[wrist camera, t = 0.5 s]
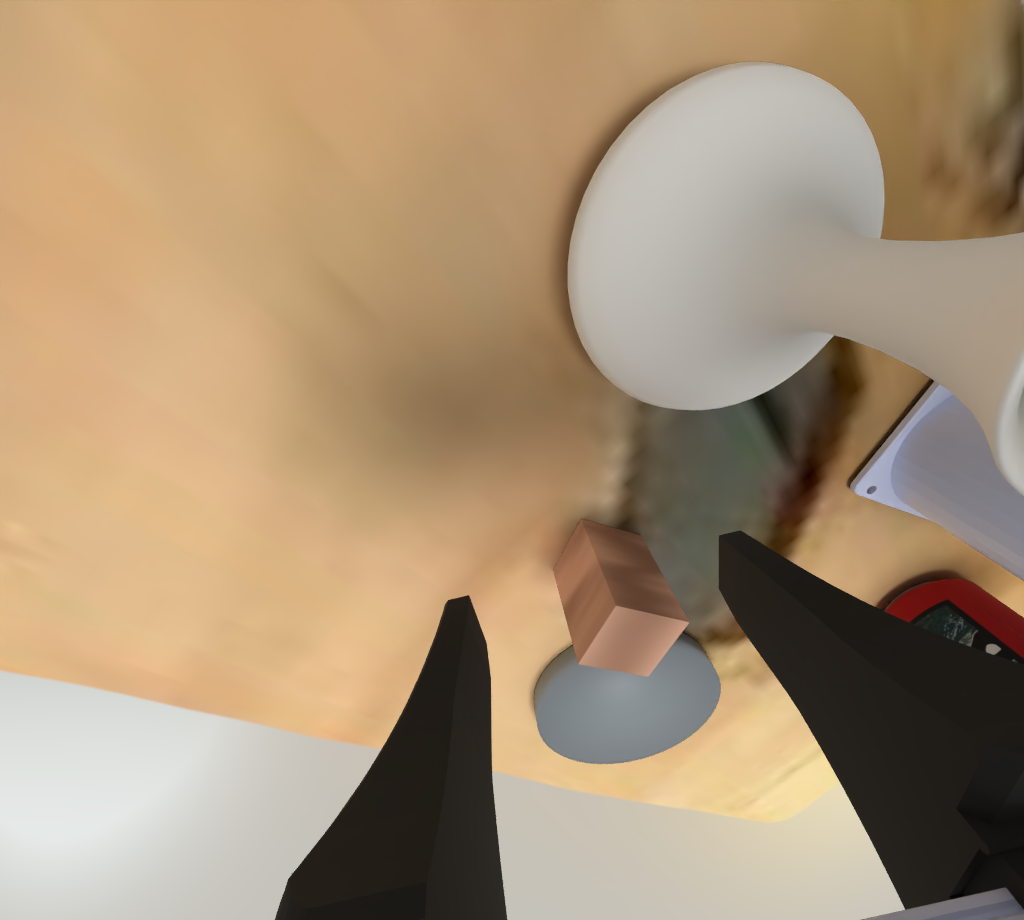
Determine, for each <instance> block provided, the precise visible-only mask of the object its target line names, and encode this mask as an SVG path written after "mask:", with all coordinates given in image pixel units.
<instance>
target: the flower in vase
mask: <svg viewBox="0 0 1024 920" xmlns="http://www.w3.org/2000/svg"><path fill="white" fill-rule="evenodd" d="M884 201H885V195H884V176H883V171H882V165H881V160H880V155H879V152H878V149H877V146H876V143H875V140H874V137H873V135H872V133H871V131H870V129H869V127H868V125H867V123H866V121H865V120H864V118H863V116H862V115H861V113H860V112H859V111H858V110H857V108H856V107H855V106H854V104H853V103H852V102H851V101H850V100H849V99H848V98H847V97H846V96H845V95H844V94H843V93H841V92H840V91H839V90H838V89H837V88H836V87H834V86H833V85H831V84H829V83H828V82H826V81H824V80H822V79H820V78H819V77H817V76H815V75H812V74H810V73H807V72H805V71H802V70H799V69H796V68H793V67H790V66H787V65H784V64H777V63H770V62H762V61H760V62H740V63H734V64H730V65H725V66H721V67H716V68H713V69H710V70H708V71H705V72H703V73H700V74H698V75H695V76H693V77H690V78H689V79H687V80H685V81H683V82H682V83H680V84H678V85H676V86H675V87H673V88H671V89H669V90H668V91H666V92H665V93H664V94H662V95H661V96H660V97H659V98H657V99H656V100H655V101H653V102H652V103H651V104H649V105H648V106H647V107H646V108H645V109H644V110H643V111H642V112H641V113H640V114H639V115H638V116H637V117H636V118H635V119H634V120H633V121H632V122H631V123H630V124H628V125H627V127H626V128H625V129H624V130H623V132H622V133H621V134H620V135H619V137H618V138H617V139H616V140H615V142H614V143H613V144H612V145H611V147H610V148H609V150H608V151H607V153H606V155H605V156H604V158H603V159H602V161H601V162H600V164H599V166H598V167H597V169H596V171H595V173H594V175H593V177H592V179H591V181H590V183H589V185H588V187H587V189H586V191H585V193H584V196H583V199H582V202H581V205H580V208H579V210H578V213H577V216H576V219H575V224H574V228H573V232H572V237H571V241H570V249H569V258H568V294H569V301H570V309H571V313H572V316H573V320H574V324H575V328H576V330H577V333H578V335H579V338H580V340H581V343H582V345H583V347H584V349H585V350H586V352H587V354H588V355H589V357H590V359H591V360H592V362H593V363H594V364H595V366H596V367H597V368H598V369H599V371H600V372H601V373H602V374H603V375H604V376H605V377H606V378H607V379H608V380H609V381H610V382H611V383H612V384H613V385H615V386H616V387H617V388H619V389H620V390H622V391H623V392H625V393H626V394H628V395H629V396H631V397H634V398H636V399H638V400H640V401H642V402H645V403H648V404H651V405H655V406H658V407H663V408H670V409H679V410H708V409H717V408H722V407H726V406H730V405H735V404H738V403H741V402H743V401H746V400H749V399H752V398H754V397H756V396H758V395H760V394H762V393H764V392H767V391H769V390H770V389H772V388H774V387H775V386H777V385H779V384H780V383H782V382H783V381H785V380H786V379H788V378H789V377H790V376H792V375H793V374H794V373H796V372H797V371H798V370H800V369H801V368H802V367H803V366H804V365H805V364H807V363H808V362H809V361H810V360H811V359H812V358H813V357H814V356H815V355H816V354H817V353H818V352H819V351H820V350H821V349H822V348H823V347H824V346H825V345H826V344H827V342H828V341H829V340H830V339H831V338H832V337H833V336H834V335H835V336H839V337H843V338H847V339H850V340H853V341H855V342H858V343H860V344H863V345H866V346H868V347H871V348H874V349H876V350H879V351H881V352H883V353H885V354H887V355H889V356H891V357H893V358H895V359H897V360H899V361H901V362H903V363H905V364H907V365H909V366H911V367H913V368H915V369H917V370H919V371H920V372H922V373H923V374H925V375H926V376H928V377H929V378H931V379H932V380H934V381H935V382H937V383H938V384H940V385H941V386H943V387H944V388H946V389H947V390H949V391H950V392H951V393H952V394H953V395H954V396H955V397H956V398H957V399H958V400H959V401H960V402H961V403H962V404H963V405H965V406H966V407H967V408H968V409H969V410H970V411H971V412H972V413H973V415H974V417H975V418H976V420H977V421H978V423H979V424H980V426H981V428H982V429H983V431H984V433H985V436H986V439H987V441H988V444H989V446H990V449H991V452H992V455H993V457H994V460H995V463H996V466H997V468H998V470H999V471H1000V473H1001V474H1002V476H1003V478H1004V479H1005V480H1006V481H1007V482H1008V483H1009V484H1010V485H1011V486H1012V487H1013V488H1014V489H1015V490H1016V491H1017V492H1018V493H1019V494H1021V495H1023V496H1024V232H1023V233H1017V234H1011V235H1004V236H998V237H992V238H978V239H964V240H950V241H895V240H887V239H880V237H881V232H882V226H883V216H884Z"/></svg>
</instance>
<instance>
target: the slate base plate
mask: <svg viewBox="0 0 1024 920" xmlns="http://www.w3.org/2000/svg"><path fill="white" fill-rule="evenodd" d="M720 689H721V685H720V680H719V677H718V674H717V672H716V670H715V668H714V667H713V665H712V663H711V661H710V660H709V658H708V656H707V654H706V652H705V651H704V649H703V648H702V647H701V645H700V644H699V643H698V642H696V641H695V640H694V639H693V638H691V637H690V636H688V635H687V634H684V633H681V634H680V635H679V637H678V638H677V639H676V641H675V642H674V643H673V645H672V646H671V647H670V649H669V650H668V651H667V653H666V654H665V655H664V657H663V658H662V659H661V661H660V662H659V663H658V665H657V666H656V667H655V668H654V670H653V671H652V672H651V674H650V675H649V676H648V677H646V676H641V675H635V674H630V673H624V672H619V671H613V670H608V669H602V668H597V667H591V666H586V665H581V664H578V662H577V658H576V654H575V650H574V647H573V645H572V646H571V647H569V648H568V649H567V650H565V651H564V652H562V653H561V654H560V655H559V656H557V657H556V658H555V659H554V660H553V661H552V662H551V663H550V664H549V665H548V666H547V668H546V669H545V670H544V672H543V673H542V675H541V676H540V678H539V680H538V682H537V685H536V688H535V692H534V707H535V713H536V719H537V726H538V730H539V733H540V736H541V737H542V739H543V741H544V742H545V743H546V744H547V745H548V747H550V748H551V749H552V750H553V751H555V752H556V753H558V754H560V755H562V756H564V757H566V758H569V759H572V760H575V761H579V762H585V763H593V764H614V763H623V762H630V761H634V760H639V759H643V758H646V757H649V756H653V755H655V754H658V753H660V752H663V751H665V750H667V749H669V748H671V747H673V746H675V745H677V744H679V743H680V742H682V741H684V740H685V739H687V738H688V737H690V736H691V735H692V734H693V733H695V732H696V731H697V730H698V729H699V728H700V727H701V726H702V725H703V724H704V723H705V722H706V721H707V720H708V719H709V717H710V716H711V715H712V713H713V711H714V710H715V708H716V706H717V703H718V701H719V697H720Z"/></svg>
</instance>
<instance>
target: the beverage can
mask: <svg viewBox="0 0 1024 920" xmlns="http://www.w3.org/2000/svg"><path fill="white" fill-rule="evenodd" d="M884 611H885V612H887V613H889V614H891V615H894V616H896V617H898V618H900V619H902V620H905V621H907V622H909V623H912V624H914V625H916V626H919V627H921V628H924V629H926V630H928V631H931V632H934V633H936V634H939V635H941V636H944V637H947V638H949V639H952V640H954V641H957V642H959V643H962V644H965V645H968V646H970V647H973V648H976V649H979V650H982V651H984V652H987V653H990V654H993V655H996V656H999V657H1002V658H1005V659H1008V660H1011V661H1014V662H1017V663H1020V664H1024V618H1023V617H1022V616H1020V615H1019V614H1017V613H1016V612H1015V611H1013V610H1012V609H1010V608H1009V607H1007V606H1006V605H1005V604H1003V603H1002V602H1000V601H999V600H997V599H996V598H995V597H993V596H992V595H990V594H989V593H988V592H986V591H985V590H983V589H982V588H980V587H979V586H978V585H976V584H975V583H973V582H971V581H968V580H964V579H945V580H939V581H930V582H925V583H922V584H919V585H916V586H914V587H911V588H909V589H908V590H906V591H904V592H903V593H901V594H900V595H898V596H897V597H896V598H895V599H893V600H892V601H891V602H890V603H889V605H888V606H887V607H886V608H885V610H884Z"/></svg>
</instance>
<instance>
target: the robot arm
mask: <svg viewBox="0 0 1024 920" xmlns="http://www.w3.org/2000/svg"><path fill="white" fill-rule="evenodd" d="M850 489H851V491H853V492H854V493H856V494H857V495H860V496H862V497H865V498H868V499H871V500H874V501H877V502H879V503H882V504H885V505H888V506H891V507H894V508H896V509H899V510H902V511H905V512H908V513H911V514H913V515H916V516H919V517H922V518H925V519H928V520H930V521H933V522H934V523H936V524H937V525H939V526H940V527H942V528H943V529H945V530H946V531H948V532H949V533H951V534H952V535H954V536H956V537H957V538H959V539H960V540H962V541H963V542H965V543H966V544H968V545H969V546H971V547H972V548H974V549H975V550H977V551H979V552H980V553H982V554H983V555H985V556H986V557H988V558H989V559H991V560H992V561H994V562H995V563H997V564H998V565H1000V566H1001V567H1003V568H1005V569H1006V570H1008V571H1009V572H1011V573H1012V574H1014V575H1015V576H1017V577H1018V578H1020V579H1021V580H1023V581H1024V496H1023V495H1021V494H1019V493H1018V492H1017V491H1016V490H1015V489H1014V488H1013V487H1012V486H1011V485H1010V484H1009V483H1008V482H1007V481H1006V480H1005V479H1004V478H1003V476H1002V474H1001V473H1000V471H999V470H998V468H997V466H996V463H995V460H994V457H993V455H992V452H991V449H990V446H989V444H988V441H987V439H986V436H985V433H984V431H983V429H982V428H981V426H980V424H979V423H978V421H977V420H976V418H975V417H974V415H973V413H972V412H971V411H970V410H969V409H968V408H967V407H966V406H965V405H963V404H962V403H961V402H960V401H959V400H958V399H957V398H956V397H955V396H954V395H953V394H952V393H951V392H950V391H949V390H947V389H946V388H944V387H943V386H941V385H940V384H938V383H937V382H935V381H934V382H933V384H932V385H931V386H930V387H929V388H928V390H927V391H926V392H925V393H924V395H923V396H922V397H921V398H920V399H919V401H918V402H917V403H916V404H915V406H914V407H913V408H912V409H911V411H910V412H909V413H908V414H907V415H906V417H905V418H904V419H903V420H902V422H901V423H900V424H899V425H898V426H897V428H896V429H895V430H894V431H893V433H892V434H891V435H890V436H889V437H888V439H887V440H886V441H885V442H884V444H883V445H882V446H881V447H880V448H879V450H878V451H877V452H876V453H875V455H874V456H873V457H872V458H871V459H870V461H869V462H868V463H867V464H866V466H865V467H864V468H863V469H862V470H861V472H860V473H859V474H858V475H857V477H856V478H855V479H854V480H853V482H852V483H851V486H850ZM719 590H720V591H721V593H722V595H723V597H724V599H725V601H726V603H727V605H728V607H729V608H730V610H731V612H732V614H733V616H734V617H735V619H736V621H737V622H738V624H739V625H740V627H741V628H742V630H743V631H744V633H745V634H746V635H747V637H748V638H749V640H750V641H751V643H752V644H753V645H754V647H755V648H756V650H757V651H758V652H759V654H760V655H761V657H762V658H763V659H764V661H765V662H766V664H767V665H768V666H769V668H770V669H771V671H772V672H773V673H774V675H775V676H776V678H777V679H778V680H779V682H780V683H781V685H782V686H783V687H784V689H785V690H786V692H787V693H788V695H789V696H790V698H791V699H792V701H793V702H794V704H795V705H796V707H797V708H798V710H799V711H800V713H801V715H802V716H803V718H804V720H805V722H806V723H807V725H808V727H809V728H810V730H811V732H812V734H813V735H814V737H815V739H816V740H817V742H818V744H819V745H820V747H821V749H822V751H823V753H824V754H825V756H826V758H827V760H828V761H829V763H830V765H831V767H832V769H833V770H834V772H835V774H836V776H837V778H838V779H839V781H840V783H841V785H842V787H843V788H844V790H845V792H846V794H847V796H848V797H849V800H850V801H851V803H852V805H853V807H854V809H855V811H856V813H857V815H858V817H859V818H860V820H861V822H862V824H863V826H864V828H865V830H866V832H867V834H868V835H869V837H870V839H871V841H872V843H873V845H874V847H875V849H876V851H877V853H878V855H879V857H880V859H881V861H882V863H883V865H884V867H885V869H886V871H887V873H888V875H889V877H890V879H891V881H892V883H893V885H894V887H895V889H896V891H897V893H898V895H899V897H900V899H901V902H902V904H903V906H904V908H905V910H903V911H898V912H894V913H890V914H885V915H880V916H876V917H871V918H867V919H862V920H1024V664H1020V663H1017V662H1014V661H1011V660H1008V659H1005V658H1002V657H999V656H996V655H993V654H990V653H987V652H984V651H982V650H979V649H976V648H973V647H970V646H968V645H965V644H962V643H959V642H957V641H954V640H952V639H949V638H947V637H944V636H941V635H939V634H936V633H934V632H931V631H928V630H926V629H924V628H921V627H919V626H916V625H914V624H912V623H909V622H907V621H905V620H902V619H900V618H898V617H896V616H894V615H891V614H889V613H887V612H885V611H883V610H880V609H878V608H876V607H874V606H872V605H870V604H868V603H866V602H863V601H861V600H859V599H857V598H856V597H854V596H852V595H850V594H848V593H846V592H844V591H842V590H840V589H838V588H836V587H834V586H833V585H831V584H829V583H827V582H825V581H824V580H822V579H820V578H818V577H816V576H815V575H813V574H811V573H809V572H808V571H806V570H804V569H803V568H801V567H799V566H797V565H796V564H794V563H792V562H791V561H789V560H787V559H786V558H784V557H782V556H781V555H779V554H778V553H776V552H774V551H773V550H771V549H769V548H768V547H766V546H765V545H763V544H761V543H760V542H758V541H757V540H755V539H753V538H752V537H750V536H749V535H747V534H745V533H744V532H742V531H736V532H732V533H728V534H724V535H720V536H719ZM275 920H507V915H506V906H505V897H504V889H503V880H502V871H501V862H500V853H499V844H498V834H497V825H496V815H495V803H494V794H493V783H492V748H491V677H490V667H489V659H488V651H487V643H486V640H485V638H484V635H483V632H482V629H481V627H480V624H479V621H478V619H477V616H476V613H475V610H474V608H473V605H472V602H471V599H470V597H469V595H468V596H464V597H460V598H456V599H451V600H448V601H447V603H446V604H445V607H444V611H443V614H442V617H441V620H440V623H439V626H438V629H437V632H436V635H435V638H434V640H433V643H432V646H431V648H430V651H429V653H428V656H427V658H426V661H425V663H424V666H423V668H422V671H421V673H420V675H419V678H418V680H417V682H416V684H415V686H414V689H413V691H412V693H411V695H410V697H409V699H408V702H407V704H406V706H405V708H404V710H403V712H402V714H401V716H400V717H399V719H398V721H397V723H396V725H395V727H394V729H393V730H392V732H391V734H390V736H389V738H388V739H387V741H386V743H385V745H384V746H383V748H382V750H381V751H380V753H379V755H378V756H377V758H376V760H375V761H374V763H373V764H372V766H371V768H370V769H369V771H368V772H367V774H366V776H365V777H364V779H363V780H362V782H361V783H360V785H359V786H358V788H357V789H356V790H355V792H354V793H353V795H352V796H351V798H350V799H349V800H348V802H347V803H346V805H345V806H344V808H343V809H342V810H341V812H340V813H339V815H338V816H337V818H336V819H335V820H334V822H333V823H332V824H331V826H330V827H329V828H328V830H327V831H326V832H325V834H324V835H323V836H322V838H321V839H320V840H319V841H318V843H317V844H316V845H315V846H314V848H313V849H312V850H311V851H310V853H309V854H308V855H307V856H306V858H305V859H304V860H303V861H302V863H301V864H300V865H299V867H298V868H297V869H296V870H295V871H294V873H293V874H292V875H291V876H290V878H289V879H288V882H287V885H286V888H285V891H284V894H283V897H282V899H281V902H280V905H279V908H278V911H277V915H276V918H275Z"/></svg>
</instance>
